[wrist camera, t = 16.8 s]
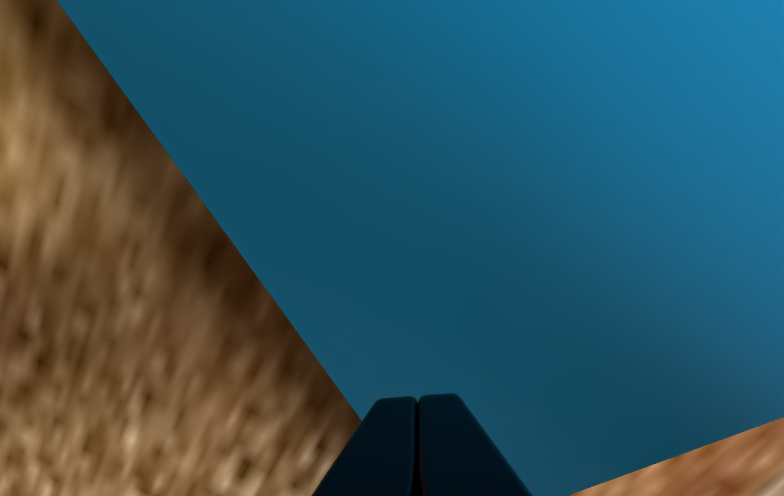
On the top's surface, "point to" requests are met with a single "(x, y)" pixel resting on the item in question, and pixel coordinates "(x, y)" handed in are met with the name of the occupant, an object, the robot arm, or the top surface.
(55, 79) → the top surface
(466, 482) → the robot arm
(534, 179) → the book
